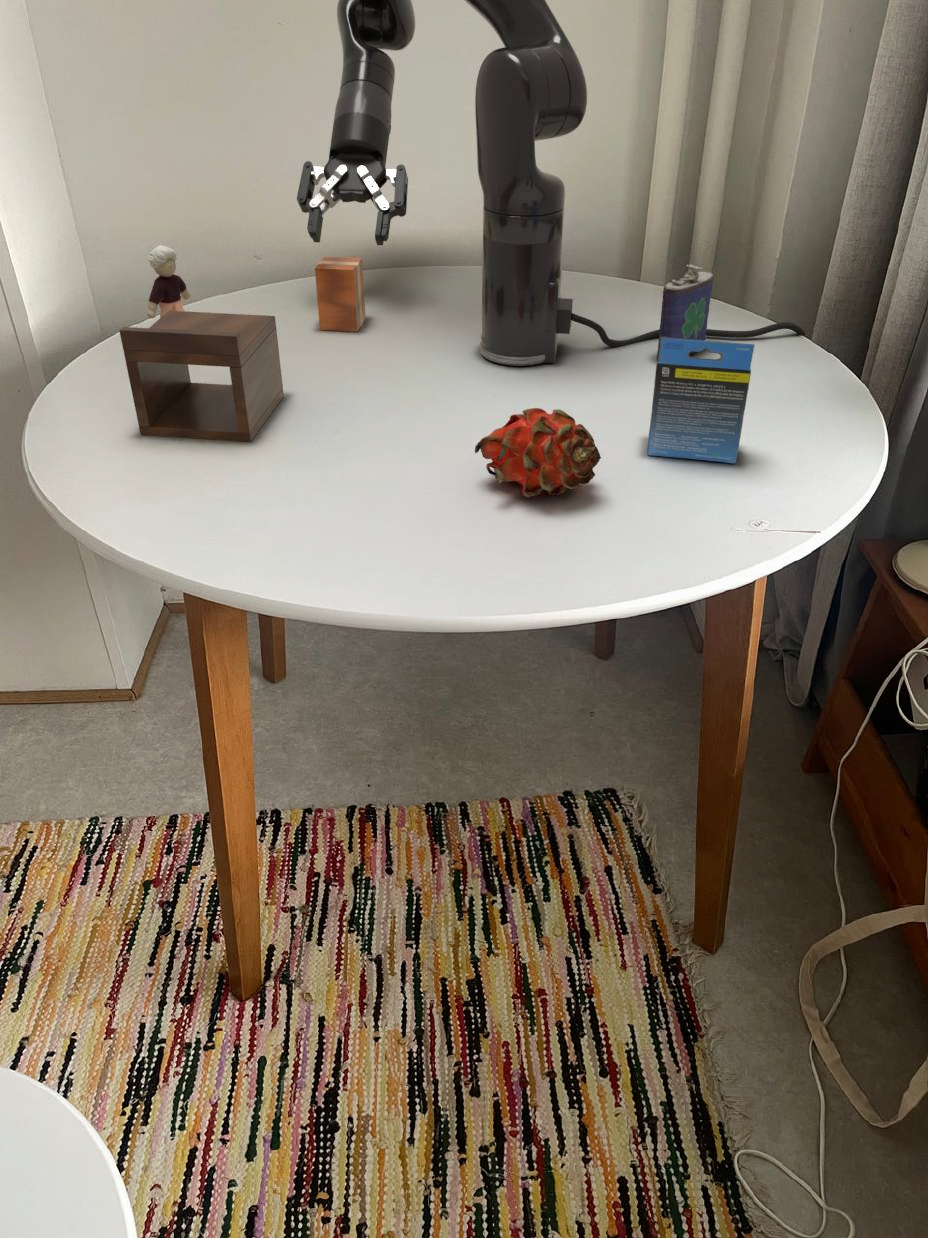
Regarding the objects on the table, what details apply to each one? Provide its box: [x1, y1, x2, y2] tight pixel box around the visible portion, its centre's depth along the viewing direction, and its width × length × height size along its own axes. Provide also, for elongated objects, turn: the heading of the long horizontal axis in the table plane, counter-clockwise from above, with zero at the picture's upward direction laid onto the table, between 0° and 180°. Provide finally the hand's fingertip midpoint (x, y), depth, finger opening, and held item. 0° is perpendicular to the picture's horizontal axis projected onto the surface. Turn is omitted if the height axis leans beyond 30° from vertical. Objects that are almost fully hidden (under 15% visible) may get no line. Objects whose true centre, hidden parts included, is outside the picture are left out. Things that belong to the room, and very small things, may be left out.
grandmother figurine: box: [146, 244, 191, 319], centre depth 121 cm, size 8×4×13 cm, turn 168°
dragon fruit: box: [473, 407, 602, 499], centre depth 93 cm, size 8×8×12 cm
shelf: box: [118, 310, 285, 443], centre depth 105 cm, size 12×12×11 cm
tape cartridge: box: [646, 337, 755, 464], centre depth 98 cm, size 9×4×12 cm, turn 77°
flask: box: [656, 264, 715, 363], centre depth 121 cm, size 9×3×11 cm, turn 138°
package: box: [314, 256, 366, 333], centre depth 130 cm, size 5×5×8 cm
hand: (347, 240), depth 130 cm, fingers open, 8 cm apart
